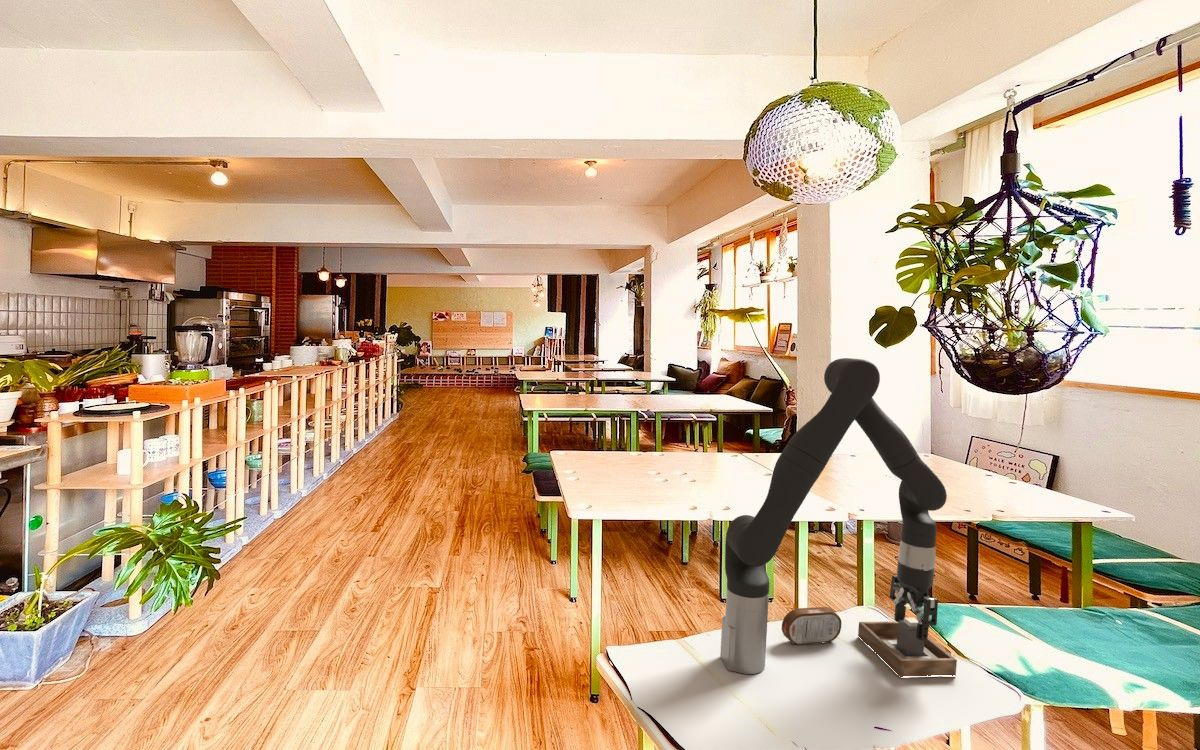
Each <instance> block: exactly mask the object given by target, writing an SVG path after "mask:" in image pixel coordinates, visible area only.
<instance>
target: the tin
mask: <svg viewBox="0 0 1200 750" xmlns="http://www.w3.org/2000/svg"><path fill="white" fill-rule="evenodd" d="M841 630H842V619H841V617H840V616H839V614H838V613H836V612H835V611H834V610H833V609H832V608H830V607H828V606H819V607H817V606H816V607H814V606H813V607H801V608H800V607H799V608H794V609H791V610H790V611H789V612H788V613H786V615H784V618H783V620H782V622H781V631H782V634H783V636H784V637H785V638H786V639H787V640H789V642H790V643H792V644H794V645H798V646H802V645H801V644H806V645H814V644H813V643H819V644H823V643H822V642H829V643H831V642H833V641H835V640H836V639H837V638H838V636H839V635H840V633H841Z"/></svg>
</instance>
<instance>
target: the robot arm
mask: <svg viewBox="0 0 1200 750" xmlns="http://www.w3.org/2000/svg"><path fill="white" fill-rule="evenodd" d="M880 377H881V375H880V371H879V369H878V367H877V366H876V365H875V364H874V363H873V362H872V361H870V360H866V359H862V358H851V357H849V358H848V357H845V358H837V359H835V360H834V359H833V361H831V362H830V363H829V364H828V365H827V367H826V369H825V371H824V375H823V379H824V384H825V386H826V388H827V390H828V391H829V392H830V393H831V394H830V395H829V397H828V399H827V400H826V402H825V403H824V405H823V407H822V408H820V409H819V411H818V413H816V414H815V415H814V416H813V417H812V418H811V419H810V420H809V421H807V422H806V423H805V424H804V425H803V426H801V427H800V428H799V429H798V430H797V431H796V432H795V433H794V434H793V435H792V436H791V438H790V439H789V441H788V442H787V444H786V446H785V447H784V448H783V450H782V452H781V453H780V454H779V456H778V458H777V460H776V462H775V465H774V467H773V471H772V475H771V479H770V484H769V488H768V493H767V495H766V498H765V500H764V502H763V504H762V505H761V507H760V508H759V510H758V511H757V513H756V514H755V516H753V515H748V514H744V515H739V516H737V517H735V518H734V519H733V520H732V521H731V522H730V523H729V526H728V527H727V530H726V535H725V547H724V550H725V551H724V571H725V576H726V596H725V598H726V599H725V613H724V614H725V615H724V616H722V617H721V619H722V620H721V633H720V634H721V635H720V636H721V638H720V652H719V653H720V659H721V660H722V662H723V664H724V666H725V667H726V669H727V671H728V672H729V671H730V672H731V671H733V672H737V673H740V674H744V675H755V674H759V673H762V672H763V671H764V670H765V667H766V659H767V658H766V650H767V634H768V617H769V599H770V579H769V577H768V573H767V569H766V564H768V562H770V561H771V560H772V559H773V558H774V556H775V555H776V554H777V552H778V549H779V547H780V546H781V543H782V542H783V539H784V537H785V535H786V533H787V531H788V528H789V527H790V525H791V523H792V521H793V519H794V518H795V515H796V514H797V512H798V510H799V509H800V507H801V506H802V504H803V503H804V501H805V499H806V497H807V496H808V495H809V492H810V490H811V489H812V488H813V486H814V485H815V483H816V482H817V480H818V479H819V477H820V476H821V474H822V473H823V471H824V469H825V468H826V466H827V465H828V462H829V461H830V459H831V457H832V455H833V454H834V452H835V451H836V449H837V447H838V446H839V445H840V443H841V441H842V440H843V438H844V436H845V435H846V433H847V432H848V430H849V428H850V427H851V426H852V424H853V423H854V421H855V422H856V423H857V424H858V426H859V427H860V429H861V430H862V431H863V432H864V434H865V435H866V436H867V438H868V440H869V441H870V442H871V444H872V446H873V447H874V449H875V450H876V451H877V453H878V454H879V456H880V457H881V459H882V461H883V462H884V464H885V466H886V467H887V469H888V470H889V472H890V473H892V474H893V476H895V477H897V478H898V479H899V480H901V482H900V485H899V487H898V502H899V509H900V514H901V515H900V516H901V520H902V526H901V535H900V537H901V538H900V544H899V547H898V556H897V565H896V566H897V568H896V575H895V574H893V575H891V581H890V592H889V599H890V600H893V605H894V618H893V619H894V622H898V621H899V620H904V618H906V611H907V607H906V606H907V604H908V605H909V606H910V608H911V610H912V612H913V614H915V617H916V620H917V621H918V623H917V632H916V638H917V639H918V640H927V638H928V637H929V629H930V627H929V626H931V627H932V626H937V624H938V606H939V602H938V601H939V600H938V599H937V598H935V597H934V598H933V597H930V596H929V589H930V588H931V587H932V586H933V585H934V581H935V580H934V579H935V578H934V577H935V568H936V567H935V566H936V558H937V557H936V553H937V552H936V542H937V531H938V527H937V523H936V521H935V520H934V519H933V518H932V517H931V515H930V511H931V512H933V511H938V510H940V509H942V508H943V507H944V506H945V504H946V502H947V496H948V495H947V491H946V488H945V485H944V484H943V482H942V481H941V479H940V478H939V477H938V476H937V474H936V473H935V472H934V471H933V470H932V469H931V468H930V467H929V466H928V464H926V463H925V462H924V461H923V459H922V458H921V457H920V455H919V453H918V452H917V451H916V449H915V447H914V446H913V444H912V442H911V441H910V439H909V438H908V437H907V435H906V434H905V433H904V431H903V430H902V429H901V428H900V427H899V426H898V425H897V423H895V422H894V420H892V419H891V418H890V417H889V416H888V415H887V414H886V413H885V412H884V410H882V408H881V407H880V406H879V405H878V403H877V402H876V401H875V400H874V398H873V397H874V395H875V394H876V392H877V390H878V388H879V386H880V381H881V378H880ZM896 592H897V593H896ZM922 607H923V608H922Z"/></svg>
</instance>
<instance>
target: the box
mask: <svg viewBox="0 0 1200 750" xmlns="http://www.w3.org/2000/svg"><path fill="white" fill-rule="evenodd" d="M857 629H858V631H857V637H858V636H859V637H860V638H861V639H862V640H863V641H864V642H865V643H866V644H867V645H869V646H870V647H871V648H872V649H873V650H874V652H876V654H878V655H879V656H880V657H881V658H882V659H883V660H884V661H885V662H886V663H887V664H888V665H889V666H890V667H891V668H892V669H893V670H894V671H895V672H896V673H897V674H898V675H899V676H900V677H903V676H927V675H928V676H931V675H952V676H953V675H955V676H956V674H957V666H958V665H957V664H958V663H957V661H958V660H957V659H956V658H955V657H954V656H953V655H952V654H950V653H949V652H947V651H946V650H945V649H944V648H943V647H941V646H940V645H939V644H937V643H936V642H935V641H933V640H932V639H931V638H930V637H929V636H928V638H927V640H924V651H923V656H916V657H905V656H904V655H903V654H902V653H901V652H900V651H899V650H898V649H896V648H897V635H898V622H897V621H859V622H858V628H857ZM956 677H957V676H956Z"/></svg>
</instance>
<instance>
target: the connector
mask: <svg viewBox="0 0 1200 750" xmlns="http://www.w3.org/2000/svg"><path fill="white" fill-rule="evenodd" d="M917 623H918V620H917V618H915V617H905V618H904V620H899V621H898V635H897V648H896V649H898V650H899V651H900V652H901V653H902V654H903V655H904V656H905V657H916V656H923V651H924V640H918V639H917V638H916V632H917Z"/></svg>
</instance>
